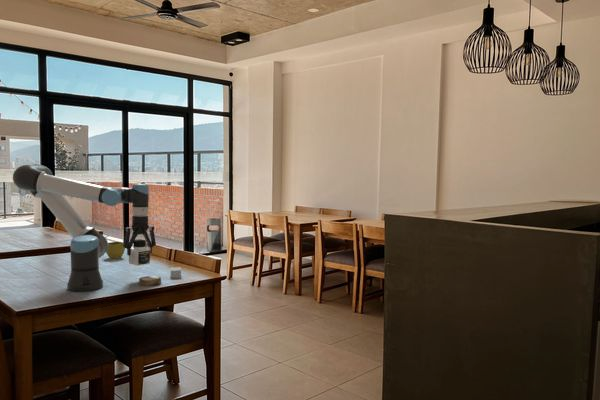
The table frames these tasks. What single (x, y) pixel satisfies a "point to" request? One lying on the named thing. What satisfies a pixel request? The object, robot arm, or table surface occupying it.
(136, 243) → the medicine bottle
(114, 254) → the flower pot
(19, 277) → the table surface
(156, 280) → the pedestal
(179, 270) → the grey junction box
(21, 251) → the table surface
